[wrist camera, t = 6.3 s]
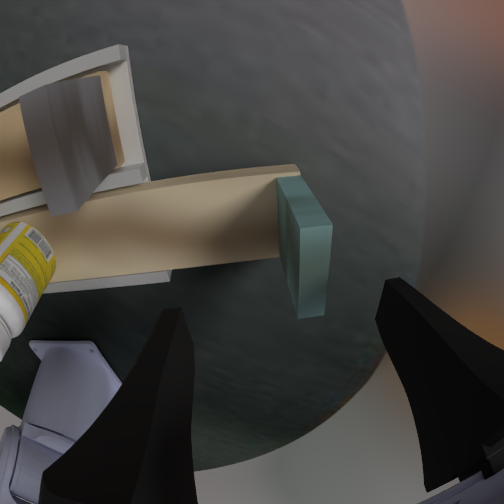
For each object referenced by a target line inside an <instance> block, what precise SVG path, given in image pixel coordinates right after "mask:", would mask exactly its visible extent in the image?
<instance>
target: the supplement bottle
mask: <svg viewBox="0 0 504 504" xmlns="http://www.w3.org/2000/svg"><path fill="white" fill-rule="evenodd" d="M55 269H56V260H55V255H54V252H53V250H52V248H51V246H50V244H49V242H48V241H47V239H46V238H45V237H44V236H43V235H42V234H41V233H40V232H39V231H38V230H37V229H35V228H34V227H32V226H31V225H28V224H26V223H22V222H12V223H9V224H8V225H6V226H5V227H4V228H3V229H2V230H1V231H0V361H1V360H2V359H3V357H4V355H5V353H6V351H7V349H8V348H9V346H10V342H11V338H14V337H17V336H18V335H20V334H21V332H22V331H23V329H24V328H25V326H26V324H27V322H28V320H29V318H30V316H31V314H32V312H33V310H34V308H35V306H36V305H37V303H38V301H39V299H40V297H41V295H42V294H43V292H44V290H45V288H46V287H47V285H48V283H49V281H50V280H51V278H52V276H53V275H54V272H55Z"/></svg>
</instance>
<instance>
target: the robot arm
mask: <svg viewBox="0 0 504 504" xmlns="http://www.w3.org/2000/svg"><path fill="white" fill-rule="evenodd" d="M375 320H376V323H377V326H378V330H379V333H380V336H381V338H382V341H383V344H384V346H385V348H386V350H387V352H388V354H389V356H390V358H391V361H392V363H393V365H394V367H395V369H396V371H397V374H398V376H399V378H400V380H401V382H402V384H403V387H404V389H405V392H406V394H407V397H408V400H409V403H410V406H411V409H412V413H413V416H414V421H415V425H416V429H417V433H418V438H419V444H420V449H421V455H422V463H423V473H424V485H425V488H426V491H427V492H430V491H431V490H434V489H436V488H438V487H440V486H442V485H444V484H446V483H448V482H450V481H452V480H454V479H455V478H457V477H458V478H459V481H460V483H458V484H456V485H454V486H452V487H451V488H449V489H447V490H445V491H443V492H441V493H439V494H437V495H435V496H433V497H431V498H429V499H427V500H424V501H423V502H420V503H418V504H504V350H502V349H500V348H498V347H496V346H494V345H493V344H491V343H489V342H487V341H486V340H484V339H483V338H481V337H479V336H478V335H476V334H474V333H473V332H471V331H470V330H468V329H467V328H466V327H464V326H463V325H461V324H460V323H459V322H457V321H456V320H454V319H453V318H452V317H450V316H449V315H448V314H447V313H445V312H444V311H442V310H441V309H440V308H439V307H437V306H436V305H435V304H433V303H432V302H431V301H430V300H429V299H427V298H426V297H425V296H424V295H422V294H421V293H420V292H418V291H417V290H416V289H415V288H413V287H412V286H411V285H409V284H408V283H407V282H405V281H404V280H403V279H401V278H400V277H399V278H393V279H388V280H385V284H384V288H383V292H382V296H381V299H380V303H379V307H378V310H377V314H376V317H375ZM29 346H30V347H31V348H32V350H33V351H34V352H35V354H36V355H37V356H38V357H39V359H40V360H41V363H40V366H39V369H38V372H37V375H36V377H35V380H34V383H33V386H32V389H31V392H30V396H29V399H28V402H27V405H26V409H25V412H24V416H23V419H22V423H21V425H20V426H19V427H16V426H15V425H12V426H11V427H7V428H6V429H5V430H4V433H3V435H2V438H1V441H0V504H31V503H29V502H32V503H35V504H198V502H197V495H196V487H195V480H194V469H193V459H192V444H191V419H192V403H193V389H194V375H195V365H194V345H193V342H192V339H191V336H190V333H189V330H188V327H187V324H186V321H185V318H184V315H183V312H182V309H181V308H172V309H164V310H163V311H162V312H161V314H160V316H159V318H158V320H157V322H156V324H155V326H154V328H153V330H152V332H151V334H150V336H149V338H148V340H147V342H146V344H145V346H144V347H143V349H142V351H141V353H140V355H139V357H138V358H137V360H136V362H135V364H134V365H133V367H132V369H131V370H130V372H129V373H128V375H127V377H126V378H125V380H124V382H123V383H121V381H120V380H119V379H118V377H117V376H116V374H115V373H114V372H113V370H112V369H111V367H110V366H109V365H108V363H107V362H106V360H105V359H104V357H103V356H102V354H101V353H100V351H99V350H98V348H97V347H96V345H95V344H94V343H93V342H91V341H40V340H31V341H30V342H29ZM14 495H15V496H14ZM16 496H18V497H20V498H22V499H25V500H27V501H29V502H26V501H24V500H21V499H19V498H17V497H16Z"/></svg>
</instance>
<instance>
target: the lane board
mask: <svg viewBox="0 0 504 504" xmlns="http://www.w3.org/2000/svg"><path fill="white" fill-rule="evenodd" d="M99 71H108V72H109V79H110V85H111V91H112V98H113V103H114V109H115V115H116V120H117V125H118V130H119V135H120V140H121V145H122V149H123V154H124V158H125V162H124V163H123V164H122V165H121V166H120V167H119V168H118V169H114V170H112V171H111V172H110V174H109V175H108V176H107V177H106V178H105V179H104V180H103V181H102V183H101V184H100V185H99V186H98V187H97V188H96V189H95V191H94V192H93V193H95V192H99V191H104V190H109V189H114V188H119V187H124V186H130V185H135V184H141V183H145V182H151V179H150V175H149V170H148V165H147V160H146V156H145V151H144V146H143V140H142V135H141V130H140V124H139V119H138V113H137V107H136V101H135V95H134V88H133V81H132V74H131V67H130V59H129V51H128V46H125V45H115V46H112V47H108V48H105V49H102V50H99V51H96V52H93V53H90V54H87V55H84V56H81V57H79V58H76V59H73V60H71V61H68V62H65V63H63V64H61V65H58V66H56V67H53V68H51V69H49V70H46V71H44V72H42V73H40V74H37V75H35V76H33V77H31V78H29V79H27V80H25V81H23V82H21V83H19V84H17V85H15V86H13V87H11V88H9V89H8V90H6V91H4V92H2V93H0V112H2V111H4V110H6V109H8V108H10V107H12V106H14V105H16V104H18V103H20V102H19V97H20V96H22V95H24V94H26V93H28V92H30V91H32V90H35V89H37V88H39V87H41V86H44V85H46V84H51V83H56V82H61V81H66V80H72V79H78V78H81V77H84V76H87V75H90V74H93V73H96V72H99ZM44 204H47V203H46V200H45V197H44V194H43V191H42V188H39V189H35V190H32V191H29V192H25V193H22V194H19V195H16V196H13V197H10V198H7V199H4V200H1V201H0V217H1V216H4V215H7V214H11V213H14V212H18V211H21V210H25V209H28V208H32V207H36V206H40V205H44ZM171 272H172V270H163V271H154V272H145V273H136V274H127V275H118V276H109V277H99V278H90V279H81V280H71V281H62V282H52V283H48V285H47V287H46V288H45V290H44V292H43V293H55V292H66V291H78V290H89V289H100V288H110V287H121V286H131V285H141V284H151V283H161V282H170V278H171Z"/></svg>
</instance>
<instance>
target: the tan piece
mask: <svg viewBox="0 0 504 504" xmlns="http://www.w3.org/2000/svg"><path fill="white" fill-rule="evenodd" d="M12 222H22V223H26V224H28V225H31V226H32V227H34V228H35V229H37V230H38V231H39V232H40V233H41V234H42V235H43V236H44V237H45V238H46V239H47V241H48V242H49V244H50V246H51V248H52V250H53V252H54V255H55V260H56V269H55V272H54V275H53V276H52V278H51V280H50V281H49V283H52V282H62V281H71V280H81V279H90V278H99V277H109V276H118V275H127V274H136V273H145V272H154V271H163V270H172V269H181V268H190V267H198V266H207V265H216V264H224V263H233V262H241V261H250V260H258V259H267V258H275V257H280V258H281V262H282V265H283V269H284V272H285V276H286V279H287V282H288V286H289V289H290V293H291V296H292V300H293V304H294V307H295V311H296V314H297V318H298V319H301V318H307V317H314V316H320V315H324V310H325V302H326V293H327V284H328V275H329V264H330V253H331V241H332V228H333V224H332V223H331V221H330V220H329V218H328V217H327V215H326V213H325V212H324V210H323V209H322V207H321V206H320V204H319V203H318V201H317V200H316V198H315V197H314V195H313V194H312V192H311V191H310V189H309V188H308V186H307V185H306V183H305V182H304V180H303V179H302V177H301V176H300V171H299V169H298V168H297V166H296V165H295V164H289V165H276V166H265V167H255V168H245V169H236V170H227V171H219V172H211V173H203V174H196V175H189V176H182V177H175V178H169V179H163V180H157V181H151V182H145V183H141V184H135V185H130V186H124V187H119V188H114V189H109V190H104V191H99V192H95V193H92V194H91V195H90V197H89V198H88V199H87V200H86V201H85V203H84V204H83V205H82V206H81V207H80V209H79V210H78V211H77V212H72V213H67V214H63V215H58V216H53V217H51V214H50V211H49V208H48V206H47V204H44V205H40V206H36V207H32V208H28V209H25V210H21V211H18V212H14V213H11V214H7V215H4V216H1V217H0V231H1V230H2V229H3V228H4V227H5V226H6V225H8V224H9V223H12Z"/></svg>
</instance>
